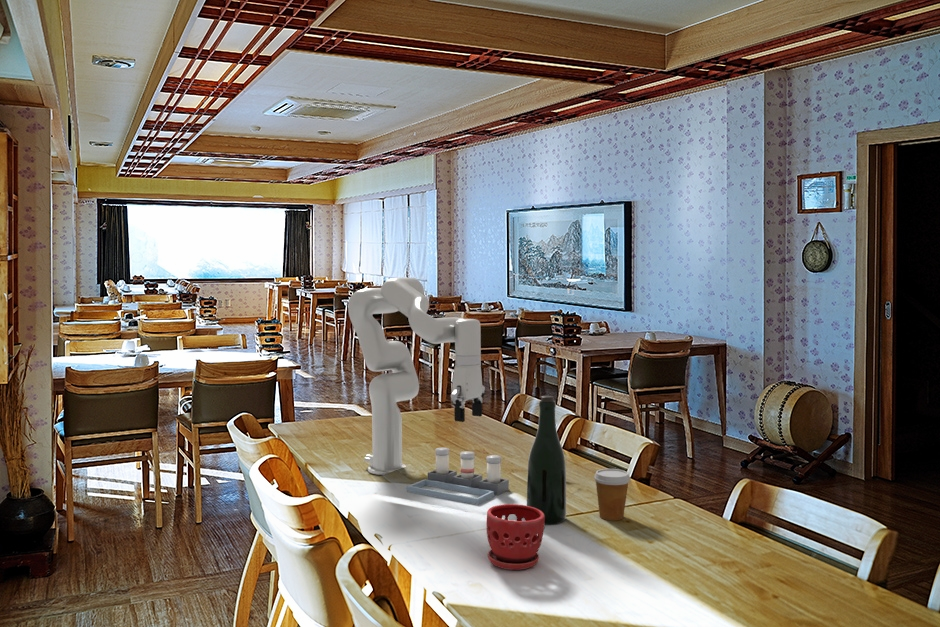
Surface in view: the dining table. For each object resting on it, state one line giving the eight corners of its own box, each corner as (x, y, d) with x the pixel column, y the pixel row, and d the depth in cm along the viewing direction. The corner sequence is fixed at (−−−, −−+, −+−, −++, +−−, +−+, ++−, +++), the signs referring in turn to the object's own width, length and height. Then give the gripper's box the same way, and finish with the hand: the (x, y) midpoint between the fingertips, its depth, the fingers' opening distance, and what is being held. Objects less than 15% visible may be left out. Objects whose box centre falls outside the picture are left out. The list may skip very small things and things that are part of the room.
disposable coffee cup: (608, 524, 212) (608, 479, 211) (586, 514, 221) (587, 470, 220) (637, 519, 216) (637, 474, 216) (614, 509, 225) (615, 466, 224)
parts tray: (406, 496, 237) (406, 486, 237) (424, 489, 244) (424, 479, 244) (477, 509, 224) (477, 499, 224) (494, 501, 232) (494, 491, 232)
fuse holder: (425, 488, 245) (425, 473, 245) (440, 481, 252) (440, 467, 252) (496, 501, 233) (496, 485, 232) (510, 494, 239) (510, 479, 239)
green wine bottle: (519, 515, 219) (520, 394, 217) (553, 511, 223) (555, 391, 221) (538, 527, 210) (539, 400, 207) (573, 522, 214) (574, 397, 212)
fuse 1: (432, 482, 246) (432, 449, 246) (440, 479, 250) (440, 446, 249) (444, 484, 244) (444, 451, 243) (451, 481, 248) (451, 448, 247)
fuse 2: (483, 491, 237) (483, 457, 236) (491, 487, 240) (491, 454, 240) (496, 493, 235) (496, 459, 234) (503, 490, 238) (503, 456, 238)
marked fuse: (457, 486, 242) (457, 453, 241) (465, 483, 245) (465, 450, 244) (469, 488, 239) (469, 455, 239) (477, 485, 243) (477, 452, 242)
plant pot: (501, 578, 177) (502, 523, 176) (477, 557, 189) (477, 506, 188) (554, 569, 182) (555, 516, 181) (527, 549, 194) (527, 500, 193)
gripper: (472, 357, 249) (472, 412, 250) (441, 363, 234) (441, 422, 235) (493, 358, 245) (494, 415, 246) (463, 364, 230) (463, 424, 231)
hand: (468, 418), depth 241 cm, fingers open, 9 cm apart
